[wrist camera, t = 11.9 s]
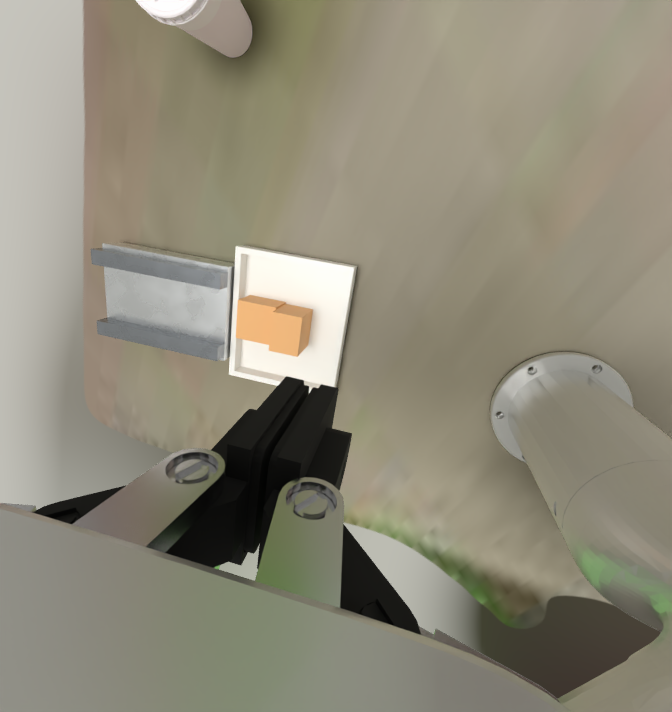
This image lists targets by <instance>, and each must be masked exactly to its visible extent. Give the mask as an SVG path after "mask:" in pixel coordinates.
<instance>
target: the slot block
mask: <svg viewBox="0 0 672 712" xmlns="http://www.w3.org/2000/svg"><path fill="white" fill-rule="evenodd" d="M102 247H103V248H96V249H91V258H92V264H94V265H99V266H104V275H105V289H106V303H107V317H108V318H104V319H101V320H97V331H98V334H100V335H105V336H109V337H113V338H118V339H122V340H127V341H131V342H135V343H140V344H144V345H149V346H153V347H157V348H162V349H166V350H170V351H175V352H179V353H184V354H188V355H192V356H197V357H201V358H206V359H210V360H214V361H218V360H223V361H224V360H226V359H227V358H229V357H230V346H231V327H232V308H233V290H234V271H235V263H231V262H226V261H220V260H215V259H210V258H204V257H199V256H194V255H189V254H183V253H178V252H173V251H167V250H162V249H157V248H151V247H146V246H141V245H136V244H130V243H125V242H118V243H102Z"/></svg>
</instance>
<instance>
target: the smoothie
mask: <svg viewBox="0 0 672 712" xmlns="http://www.w3.org/2000/svg"><path fill="white" fill-rule="evenodd" d="M136 2H137V3H138V4H139V5H140V6H141V7H142V8H143V9H145V10H146V11H147V12H148V13H149V15H150V16H152V17H153V18H155V19H156V20H158V21H159V22H161V23H165V24H169V25H175V26H176V27H178V28H180V29H182V30H184V31H185V32H187V33H189V34H190V35H192V36H194V37H195V38H197V39H199V40H200V41H202V42H204V43H205V44H207V45H209V46H210V47H212V48H214V49H215V50H217V51H219V52H220V53H222V54H224V55H225V56H227V57H231V58H235V57H239V56H241V55H243V54H244V53H245V52H246V51H247V49H248V48H249V46H250V43H251V40H252V24H251V21H250V18H249V16H248V14H247V12H246V11H245V9H244V7H243V5H242V3H241V1H240V0H136Z"/></svg>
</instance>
